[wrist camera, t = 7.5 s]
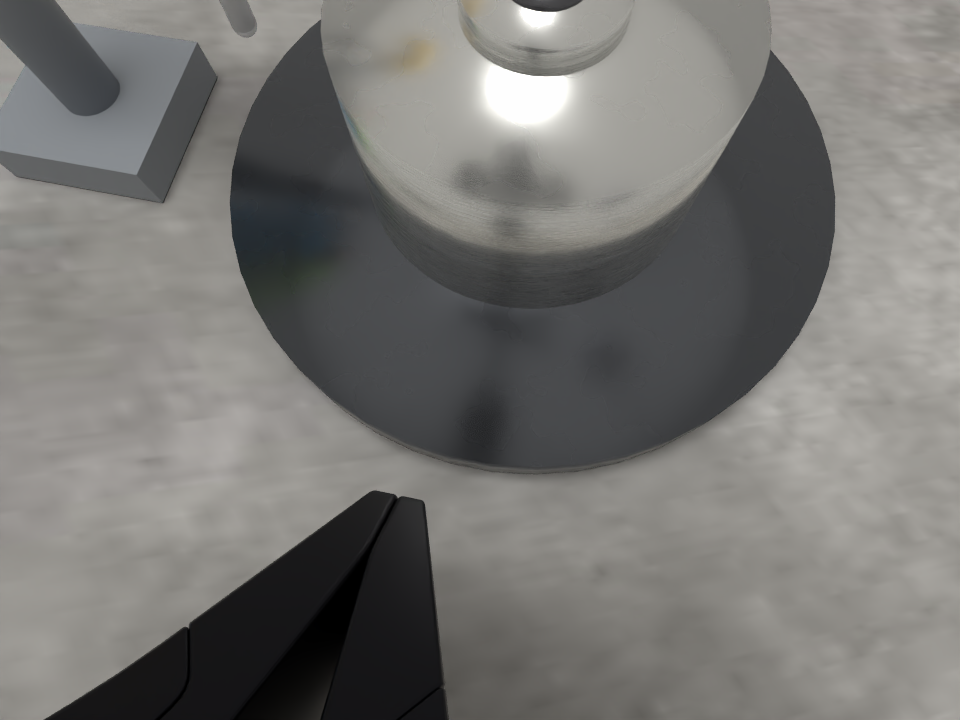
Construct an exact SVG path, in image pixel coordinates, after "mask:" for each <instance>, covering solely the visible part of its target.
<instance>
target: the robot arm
mask: <svg viewBox="0 0 960 720" xmlns="http://www.w3.org/2000/svg"><path fill="white" fill-rule="evenodd" d="M444 686H445V682H444V673H443V664H442V655H441V646H440V637H439V628H438V619H437V610H436V600H435V591H434V582H433V573H432V564H431V555H430V546H429V537H428V528H427V519H426V510H425V503H424V502H423V501H422V500H418V499H414V498H409V497H404V496H401V497H399V498H397V496H396V495H394V494H390V493H385V492H380V491H371V492H369V493H368V494H366V495H365V496H364V497H362V498H361V499H360V500H358V501H357V502H355V503H354V504H353V505H351V506H350V507H349V508H347V509H346V510H344V511H343V512H342V513H340V514H339V515H338V516H336V517H335V518H333V519H332V520H331V521H329V522H328V523H327V524H325V525H324V526H322V527H321V528H320V529H318V530H317V531H316V532H314V533H313V534H311V535H310V536H309V537H307V538H306V539H305V540H303V541H302V542H300V543H299V544H298V545H296V546H295V547H294V548H292V549H291V550H289V551H288V552H287V553H285V554H284V555H283V556H281V557H280V558H278V559H277V560H276V561H274V562H273V563H272V564H270V565H269V566H267V567H266V568H265V569H263V570H262V571H261V572H259V573H258V574H256V575H255V576H254V577H252V578H251V579H249V580H248V581H247V582H245V583H244V584H243V585H241V586H240V587H238V588H237V589H236V590H234V591H233V592H232V593H230V594H229V595H227V596H226V597H225V598H223V599H222V600H221V601H219V602H218V603H216V604H215V605H214V606H212V607H211V608H210V609H208V610H207V611H205V612H204V613H203V614H201V615H200V616H199V617H197V618H196V619H194V620H193V621H192V622H190V624H189V629H188V628H187V627H183V628H182V629H180V630H179V631H178V632H176V633H175V634H173V635H172V636H171V637H169V638H168V639H167V640H165V641H164V642H162V643H161V644H160V645H158V646H157V647H155V648H154V649H153V650H151V651H150V652H148V653H147V654H145V655H144V656H142V657H141V658H140V659H138V660H137V661H135V662H134V663H132V664H131V665H129V666H128V667H127V668H125V669H124V670H122V671H121V672H119V673H118V674H116V675H115V676H113V677H112V678H110V679H108V680H107V681H105V682H104V683H102V684H100V685H99V686H97V687H96V688H94V689H93V690H91V691H89V692H88V693H86V694H85V695H83V696H82V697H80V698H78V699H77V700H75V701H74V702H72V703H71V704H69V705H67V706H66V707H64V708H62V709H61V710H59V711H57V712H56V713H54V714H52V715H51V716H49V717H48V718H46V719H44V720H449V717H448V707H447V698H446V691H445V689H444Z"/></svg>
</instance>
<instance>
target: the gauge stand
mask: <svg viewBox="0 0 960 720" xmlns="http://www.w3.org/2000/svg"><path fill="white" fill-rule="evenodd" d="M219 1H220V3H221V5H222V7H223V9H224V11H225V13H226V15H227V17H228V19H229V21H230V23H231V25H232V27H233V29H234V31H235V32H236V33H237V34H238V35H240V36H242V37H246V38H247V37H251V36H253V35H254V34H255V32H256V30H257V23H256V20H255V17H254V15H253V13H252V11H251V8H250V6H249V4H248V2H247V0H219ZM0 39H1V40H2V41H3V42H4V43H5V44H6V45H7V46H8V47H9V48H10V49H11V50H12V51H13V53H14V54H15V55H16V56H17V57H18V58H19V59H20V60H21V61H22V62H23V63H24V64H25V67H24V68H23V70H22V72H21V74H20V76H19V77H18V79H17V81H16V83H15V84H14V86H13V88H12V90H11V92H10V93H9V95H8V97H7V99H6V100H5V102H4V104H3V106H2V108H1V109H0V164H1V165H3V166H4V167H5V168H7V169H8V170H9V171H10V172H12V173H13V174H14V175H15V176H18V177H23V178H29V179H34V180H40V181H45V182H51V183H56V184H62V185H67V186H73V187H78V188H84V189H89V190H95V191H100V192H106V193H111V194H117V195H122V196H128V197H133V198H139V199H144V200H150V201H155V202H161V203H163V201H164V199H165V196H166V194H167V192H168V189H169V187H170V185H171V182H172V180H173V178H174V175H175V173H176V171H177V169H178V166H179V164H180V162H181V159H182V157H183V155H184V152H185V150H186V148H187V146H188V143H189V141H190V139H191V136H192V134H193V132H194V129H195V127H196V125H197V122H198V120H199V118H200V116H201V113H202V111H203V109H204V106H205V104H206V102H207V99H208V97H209V95H210V93H211V90H212V88H213V86H214V83H215V81H216V79H217V76H216V74H215V72H214V71H213V69H212V67H211V65H210V64H209V62H208V60H207V58H206V57H205V55H204V53H203V51H202V50H201V48H200V46H199V44H198V43H197V42H193V41H186V40H180V39H174V38H167V37H161V36H155V35H148V34H142V33H136V32H129V31H123V30H117V29H110V28H104V27H98V26H91V25H85V24H78V23H72V21H71V20H70V19H69V18H68V16H67V15H66V14H65V12H64V11H63V10H62V9H61V7H60V6H59V5H58V4H57V2H56V1H55V0H0Z"/></svg>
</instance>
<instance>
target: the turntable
mask: <svg viewBox="0 0 960 720" xmlns="http://www.w3.org/2000/svg"><path fill="white" fill-rule="evenodd" d="M230 211H231V224H232V237H233V241H234V246H235V250H236V254H237V258H238V263H239V267H240V271H241V274H242V276H243V279H244V281H245V284H246V286H247V289H248V291H249V294H250V296H251V299H252V301H253V304H254V306H255V308H256V309H257V311H258V313H259V314H260V316H261V318H262V319H263V321H264V323H265V324H266V326H267V328H268V329H269V331H270V333H271V334H272V336H273V338H274V339H275V340H276V342H277V343H278V344H279V345H280V347H281V348H282V349H283V350H284V351H285V353H286V354H287V355H288V356H289V358H290V359H291V360H292V361H293V362H294V364H295V365H296V366H297V367H298V369H299V370H300V371H301V372H303V373H304V374H305V375H306V376H307V377H308V378H309V379H310V380H311V381H312V382H313V383H314V384H315V385H316V386H317V387H318V388H319V389H321V390H322V391H323V392H324V393H325V394H326V395H327V396H328V397H329V398H330V399H331V400H333V401H334V402H335V403H336V404H337V405H338V406H339V407H340V408H341V409H342V410H344V411H345V412H347V413H348V414H350V415H351V416H353V417H354V418H355V419H357V420H358V421H360V422H361V423H363V424H364V425H366V426H367V427H369V428H370V429H372V430H373V431H375V432H376V433H378V434H380V435H382V436H384V437H386V438H388V439H390V440H392V441H394V442H396V443H398V444H400V445H402V446H404V447H406V448H408V449H410V450H413V451H416V452H419V453H422V454H425V455H427V456H430V457H433V458H436V459H439V460H442V461H445V462H448V463H451V464H456V465H461V466H466V467H471V468H477V469H482V470H487V471H492V472H507V473H523V474H545V473H559V472H573V471H580V470H585V469H590V468H595V467H600V466H605V465H609V464H614V463H619V462H621V461H624V460H627V459H630V458H633V457H636V456H638V455H641V454H644V453H647V452H650V451H653V450H655V449H658V448H660V447H662V446H663V445H665V444H667V443H669V442H671V441H673V440H675V439H677V438H679V437H681V436H683V435H685V434H687V433H689V432H691V431H692V430H694V429H696V428H697V427H699V426H701V425H702V424H704V423H706V422H707V421H709V420H711V419H712V418H713V417H715V416H716V415H718V414H719V413H720V412H722V411H723V410H725V409H726V408H727V407H729V406H730V405H732V404H733V403H734V402H736V401H737V400H739V399H740V398H741V397H743V396H744V395H745V394H747V393H748V392H749V391H750V390H751V389H752V388H753V387H754V386H755V385H756V384H757V383H758V382H759V381H760V380H761V379H762V378H763V377H764V376H765V375H766V374H767V373H768V372H769V371H770V370H771V369H772V368H773V367H774V366H775V365H776V364H777V363H778V361H779V360H780V359H781V357H782V356H783V355H784V353H785V352H786V351H787V349H788V348H789V347H790V345H791V344H792V343H793V341H794V340H795V339H796V338H797V336H798V335H799V333H800V331H801V329H802V327H803V326H804V324H805V322H806V320H807V318H808V316H809V314H810V312H811V311H812V309H813V307H814V305H815V303H816V301H817V298H818V295H819V293H820V290H821V287H822V284H823V281H824V278H825V275H826V272H827V269H828V266H829V261H830V255H831V249H832V243H833V238H834V232H835V193H834V186H833V179H832V172H831V164H830V160H829V157H828V153H827V150H826V147H825V143H824V140H823V137H822V133H821V130H820V128H819V126H818V124H817V121H816V119H815V117H814V115H813V113H812V111H811V108H810V106H809V104H808V102H807V100H806V98H805V97H804V95H803V93H802V92H801V90H800V89H799V87H798V86H797V84H796V82H795V81H794V79H793V78H792V76H791V75H790V73H789V71H788V70H787V69H786V68H785V67H784V65H783V64H782V63H781V62H780V61H779V59H778V58H777V57H776V56H775V55H774V53H773V52H772V51H771V50H770V54H769V58H768V62H767V66H766V70H765V74H764V77H763V79H762V81H761V84H760V86H759V88H758V90H757V92H756V95H755V97H754V99H753V101H752V102H751V104H750V106H749V108H748V109H747V111H746V113H745V114H744V116H743V118H742V120H741V121H740V123H739V125H738V127H737V128H736V130H735V132H734V133H733V135H732V137H731V139H730V140H729V142H728V144H727V146H726V147H725V149H724V151H723V153H722V154H721V156H720V158H719V159H718V161H717V163H716V165H715V166H714V168H713V170H712V172H711V173H710V175H709V177H708V178H707V180H706V182H705V184H704V185H703V187H702V189H701V191H700V192H699V194H698V196H697V197H696V199H695V201H694V203H693V204H692V206H691V208H690V210H689V211H688V213H687V215H686V216H685V218H684V220H683V222H682V223H681V225H680V227H679V229H678V230H677V232H676V233H675V235H674V236H673V238H672V240H671V241H670V243H669V244H668V246H667V247H666V248H665V250H664V251H663V252H662V253H661V254H660V255H659V256H658V257H657V258H656V260H655V261H654V262H653V263H652V264H651V265H649V266H648V267H647V268H646V269H645V270H643V271H642V272H641V273H640V274H639V275H638V276H636V277H635V278H633V279H631V280H630V281H628V282H627V283H625V284H624V285H622V286H620V287H619V288H617V289H615V290H612V291H610V292H608V293H606V294H604V295H601V296H599V297H596V298H593V299H590V300H587V301H584V302H580V303H577V304H572V305H566V306H561V307H555V308H539V309H525V308H509V307H503V306H498V305H493V304H487V303H484V302H480V301H477V300H474V299H471V298H468V297H465V296H462V295H460V294H458V293H456V292H454V291H452V290H449V289H447V288H445V287H443V286H442V285H440V284H438V283H437V282H435V281H434V280H432V279H430V278H429V277H427V276H426V275H425V274H423V273H422V272H421V271H420V270H419V269H417V268H416V267H415V266H414V265H412V264H411V263H410V262H409V261H408V260H407V259H406V258H405V257H404V255H403V254H402V253H401V252H400V251H399V250H398V249H397V248H396V247H395V245H394V244H393V242H392V241H391V239H390V238H389V236H388V235H387V233H386V232H385V230H384V228H383V226H382V224H381V222H380V220H379V218H378V216H377V214H376V211H375V208H374V205H373V202H372V199H371V196H370V193H369V190H368V187H367V184H366V181H365V178H364V175H363V172H362V169H361V166H360V163H359V160H358V157H357V154H356V151H355V148H354V145H353V142H352V139H351V136H350V133H349V130H348V128H347V125H346V122H345V119H344V116H343V113H342V110H341V107H340V104H339V101H338V98H337V95H336V92H335V89H334V86H333V83H332V80H331V77H330V74H329V71H328V67H327V64H326V61H325V58H324V54H323V46H322V39H321V20H320V21H318V22H317V23H316V24H315V25H314V26H312V27H311V28H310V29H309V30H308V31H307V32H306V33H305V34H304V35H303V36H302V37H301V38H300V39H299V40H298V41H297V42H296V43H295V44H294V45H293V47H292V48H291V49H290V50H289V51H288V52H287V53H286V54H285V56H284V57H283V58H282V60H281V61H280V62H279V64H278V65H277V66H276V68H275V69H274V70H273V72H272V73H271V74H270V76H269V77H268V78H267V80H266V82H265V84H264V86H263V87H262V89H261V91H260V93H259V95H258V96H257V98H256V100H255V102H254V104H253V105H252V107H251V110H250V112H249V115H248V118H247V120H246V123H245V125H244V128H243V131H242V133H241V136H240V139H239V143H238V148H237V152H236V156H235V161H234V165H233V169H232V182H231V195H230Z"/></svg>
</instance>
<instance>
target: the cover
mask: <svg viewBox="0 0 960 720" xmlns="http://www.w3.org/2000/svg"><path fill="white" fill-rule="evenodd" d="M771 32H772V28H771V18H770V7H769V3H768V0H323V5H322V10H321V39H322V46H323V54H324V58H325V61H326V64H327V67H328V71H329V74H330V77H331V80H332V83H333V86H334V89H335V92H336V95H337V98H338V101H339V104H340V107H341V110H342V113H343V116H344V119H345V122H346V125H347V128H348V130H349V133H350V136H351V139H352V142H353V145H354V148H355V151H356V154H357V157H358V160H359V163H360V166H361V169H362V172H363V175H364V178H365V181H366V184H367V187H368V190H369V193H370V196H371V199H372V202H373V205H374V208H375V211H376V214H377V216H378V218H379V220H380V222H381V224H382V226H383V228H384V230H385V232H386V233H387V235H388V236H389V238H390V239H391V241H392V242H393V244H394V245H395V247H396V248H397V249H398V250H399V251H400V252H401V253H402V254H403V255H404V257H405V258H406V259H407V260H408V261H409V262H410V263H411V264H412V265H414V266H415V267H416V268H417V269H419V270H420V271H421V272H422V273H423V274H425V275H426V276H427V277H429V278H430V279H432V280H434V281H435V282H437V283H438V284H440V285H442V286H443V287H445V288H447V289H449V290H452V291H454V292H456V293H458V294H460V295H462V296H465V297H468V298H471V299H474V300H477V301H480V302H484V303H487V304H493V305H498V306H503V307H509V308H525V309H539V308H555V307H561V306H566V305H572V304H577V303H580V302H584V301H587V300H590V299H593V298H596V297H599V296H601V295H604V294H606V293H608V292H610V291H612V290H615V289H617V288H619V287H620V286H622V285H624V284H625V283H627V282H628V281H630V280H631V279H633V278H635V277H636V276H638V275H639V274H640V273H641V272H642V271H643V270H645V269H646V268H647V267H648V266H649V265H651V264H652V263H653V262H654V261H655V260H656V258H657V257H658V256H659V255H660V254H661V253H662V252H663V251H664V250H665V248H666V247H667V246H668V244H669V243H670V241H671V240H672V238H673V236H674V235H675V233H676V232H677V230H678V229H679V227H680V225H681V223H682V222H683V220H684V218H685V216H686V215H687V213H688V211H689V210H690V208H691V206H692V204H693V203H694V201H695V199H696V197H697V196H698V194H699V192H700V191H701V189H702V187H703V185H704V184H705V182H706V180H707V178H708V177H709V175H710V173H711V172H712V170H713V168H714V166H715V165H716V163H717V161H718V159H719V158H720V156H721V154H722V153H723V151H724V149H725V147H726V146H727V144H728V142H729V140H730V139H731V137H732V135H733V133H734V132H735V130H736V128H737V127H738V125H739V123H740V121H741V120H742V118H743V116H744V114H745V113H746V111H747V109H748V108H749V106H750V104H751V102H752V101H753V99H754V97H755V95H756V92H757V90H758V88H759V86H760V84H761V81H762V79H763V77H764V74H765V70H766V66H767V62H768V58H769V54H770V45H771Z"/></svg>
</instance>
